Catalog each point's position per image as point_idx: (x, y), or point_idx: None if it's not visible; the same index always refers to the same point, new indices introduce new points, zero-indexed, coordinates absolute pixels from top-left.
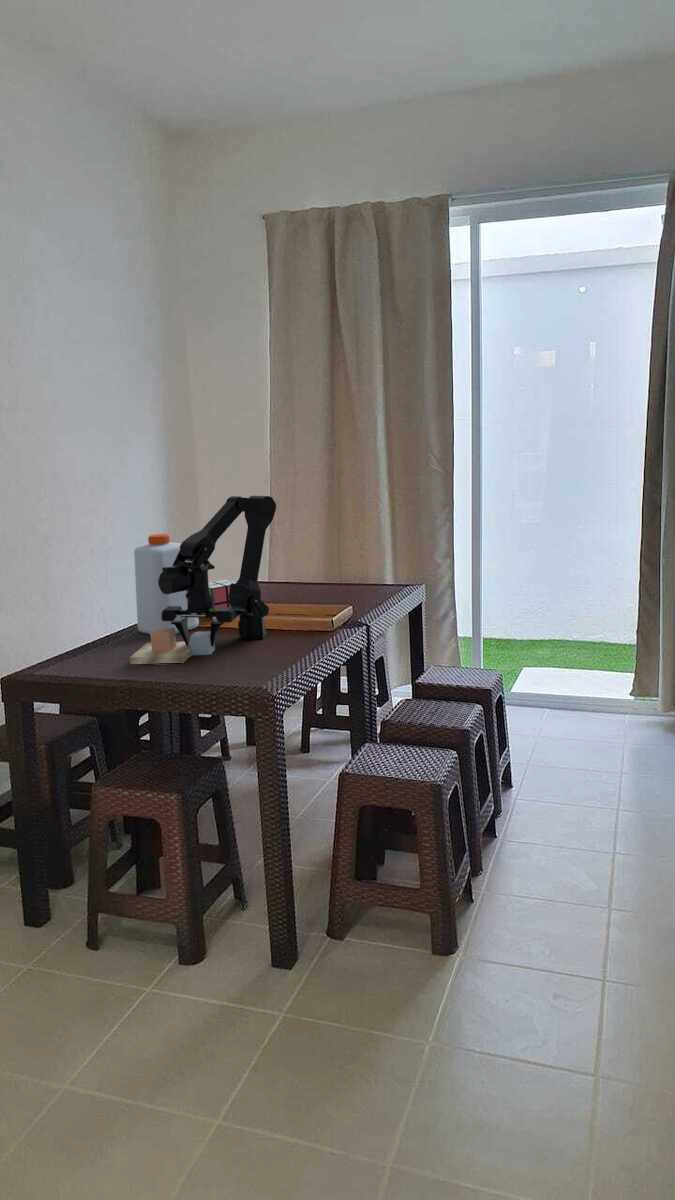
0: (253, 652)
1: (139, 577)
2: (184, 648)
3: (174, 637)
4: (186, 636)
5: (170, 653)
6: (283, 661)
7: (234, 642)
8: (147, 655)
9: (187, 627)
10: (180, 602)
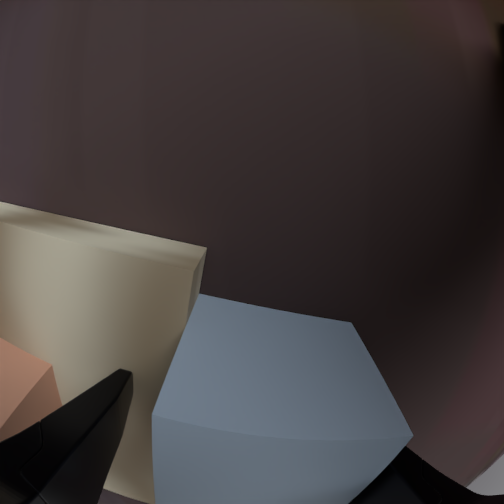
0: (484, 399)
1: None
2: (129, 434)
3: (20, 431)
4: (106, 467)
5: None
6: (482, 462)
7: (484, 169)
8: None
9: (52, 483)
10: None
